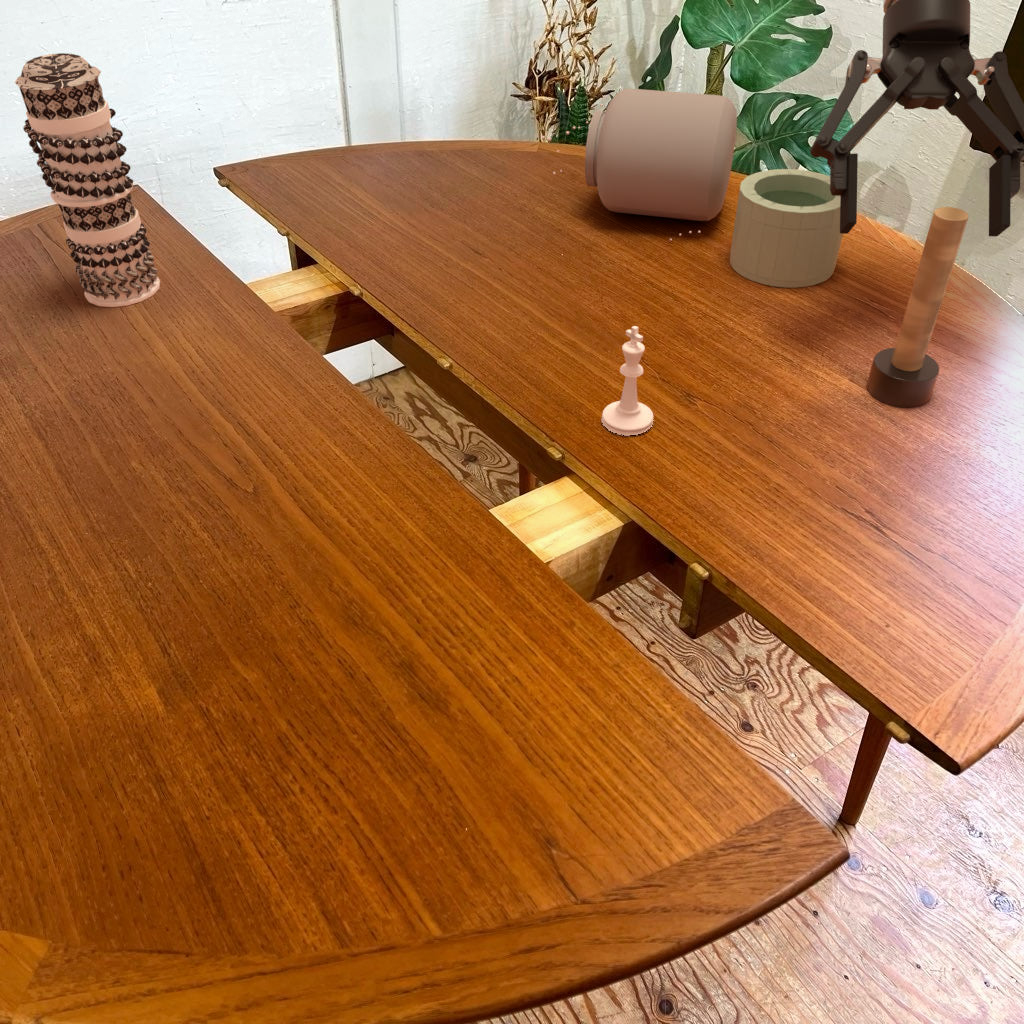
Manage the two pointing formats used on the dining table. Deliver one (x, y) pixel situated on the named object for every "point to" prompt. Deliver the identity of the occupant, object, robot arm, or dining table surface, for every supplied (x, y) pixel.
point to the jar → (662, 153)
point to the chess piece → (629, 394)
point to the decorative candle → (88, 178)
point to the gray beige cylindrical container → (786, 228)
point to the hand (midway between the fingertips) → (923, 230)
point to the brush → (920, 319)
